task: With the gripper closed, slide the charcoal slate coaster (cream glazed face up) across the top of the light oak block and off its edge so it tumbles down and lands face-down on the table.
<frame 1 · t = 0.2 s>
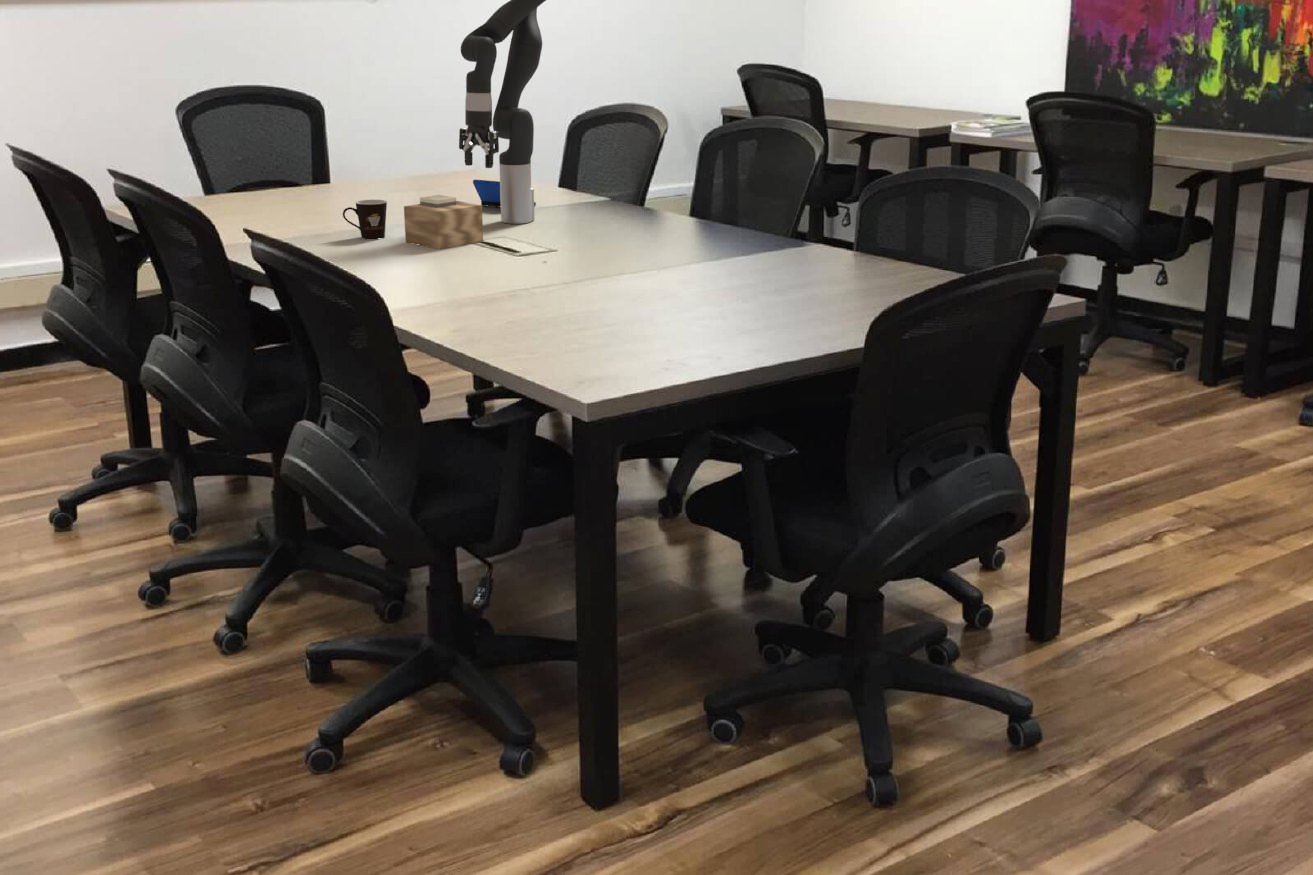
hand: (478, 166, 427), 18 cm above the table, tool pointing down, fingers open, 8 cm apart
coaster: (438, 204, 409), point 10 cm above the table, touching oak block
coffee mug: (368, 238, 417), on the table
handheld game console: (505, 208, 469), on the table
oak block: (444, 241, 411), on the table
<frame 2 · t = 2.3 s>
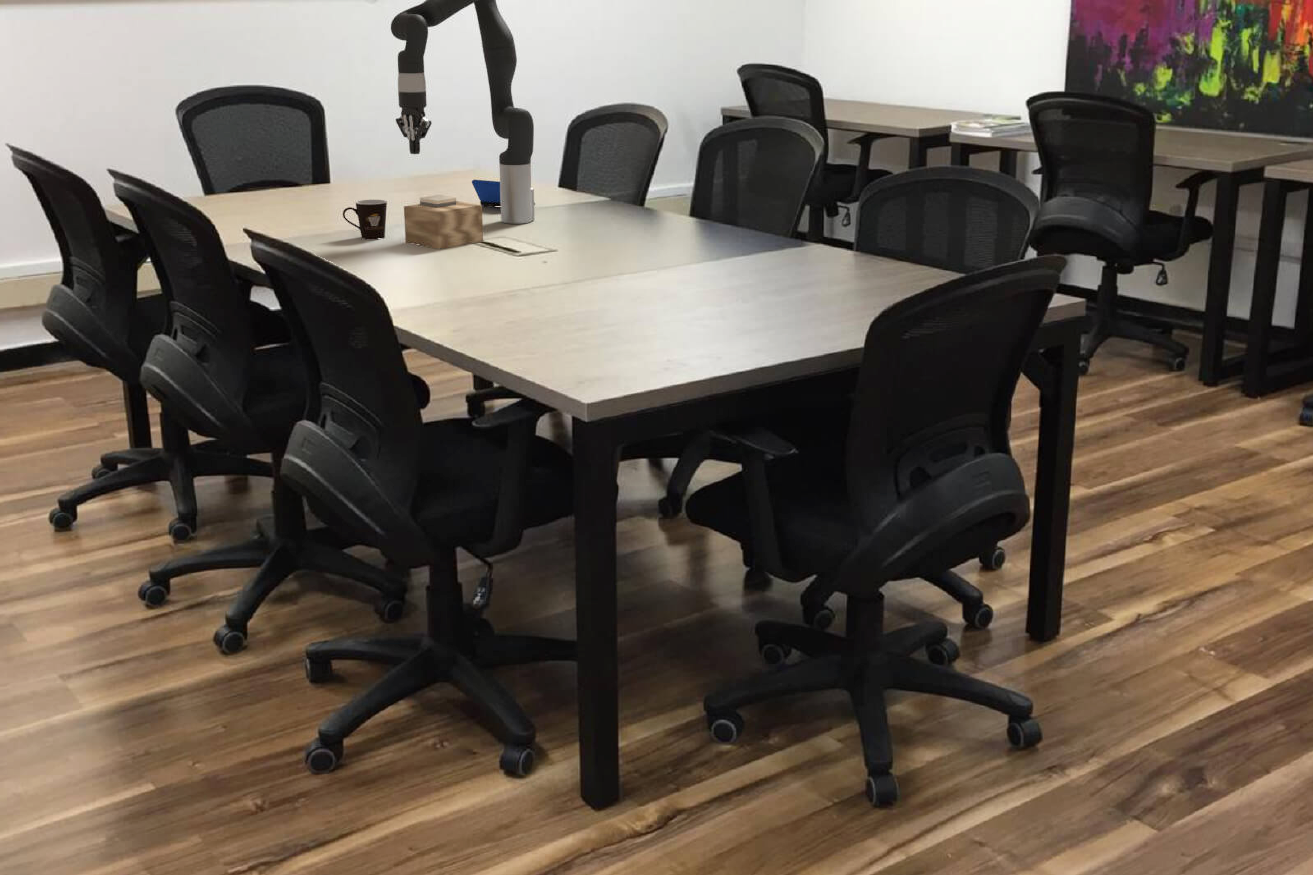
hand: (414, 153, 411), 23 cm above the table, tool pointing down, fingers closed
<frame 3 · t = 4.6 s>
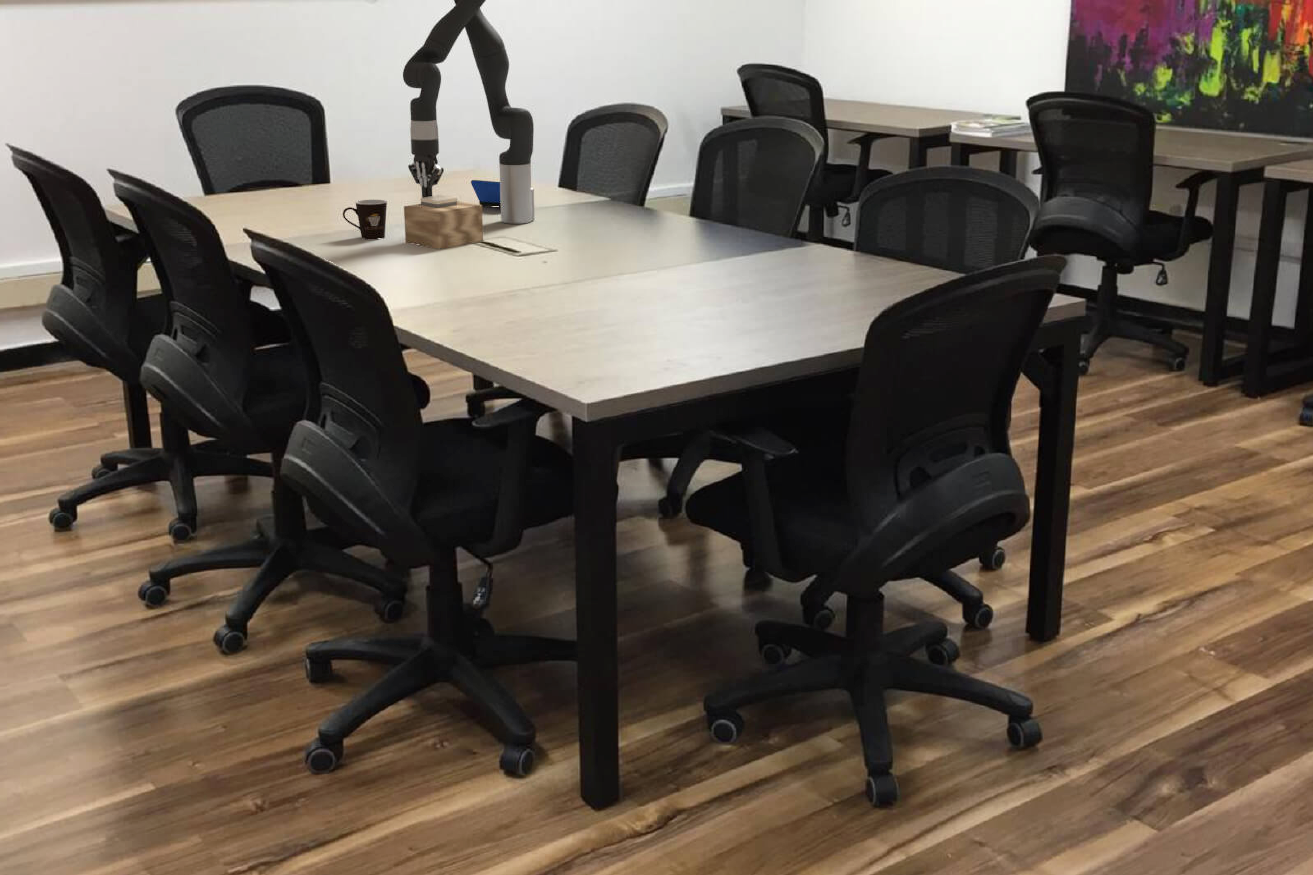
hand: (427, 200, 412), 11 cm above the table, tool pointing down, fingers closed
coaster: (439, 205, 409), point 10 cm above the table, touching gripper
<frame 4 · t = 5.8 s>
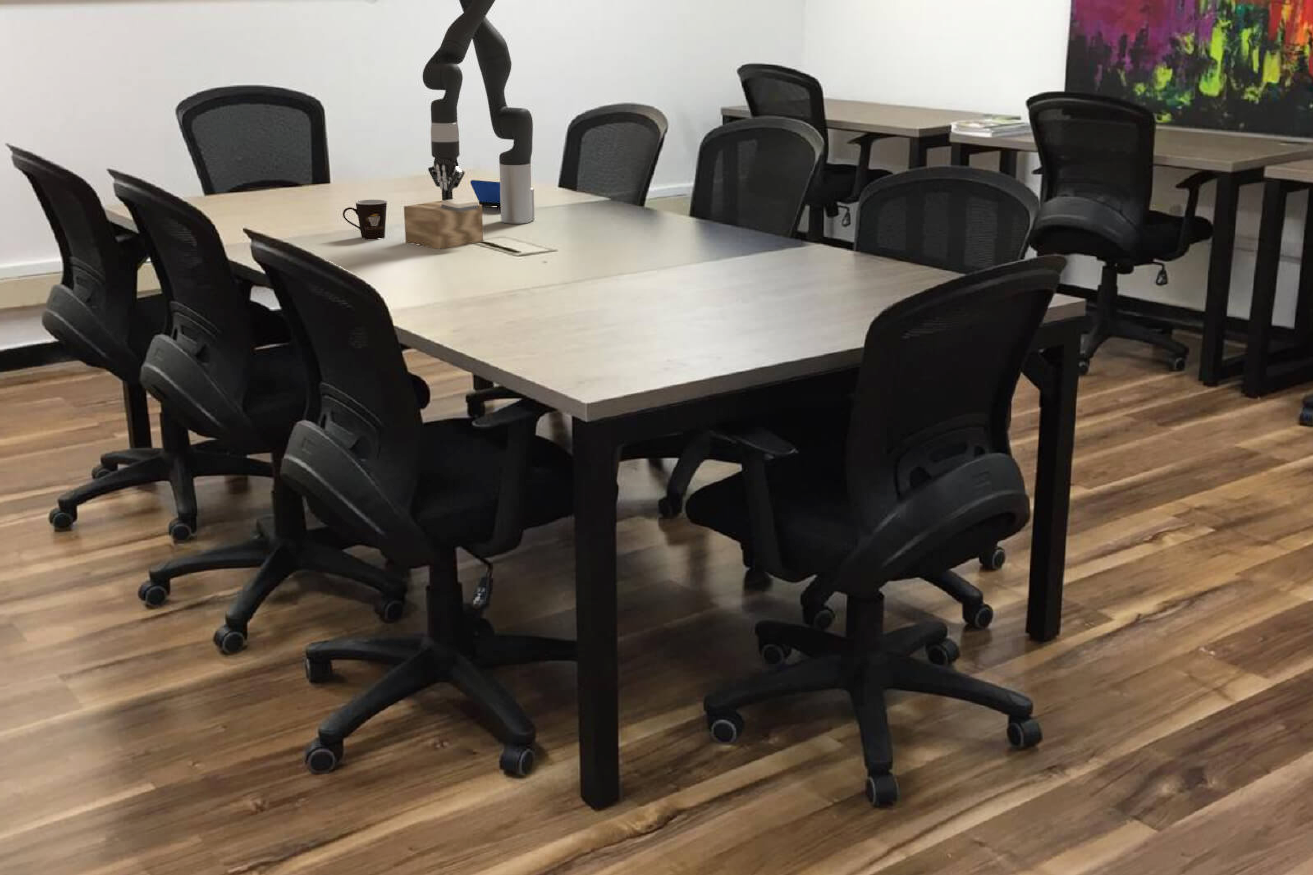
hand: (447, 203, 406), 11 cm above the table, tool pointing down, fingers closed
coaster: (459, 208, 404), point 10 cm above the table
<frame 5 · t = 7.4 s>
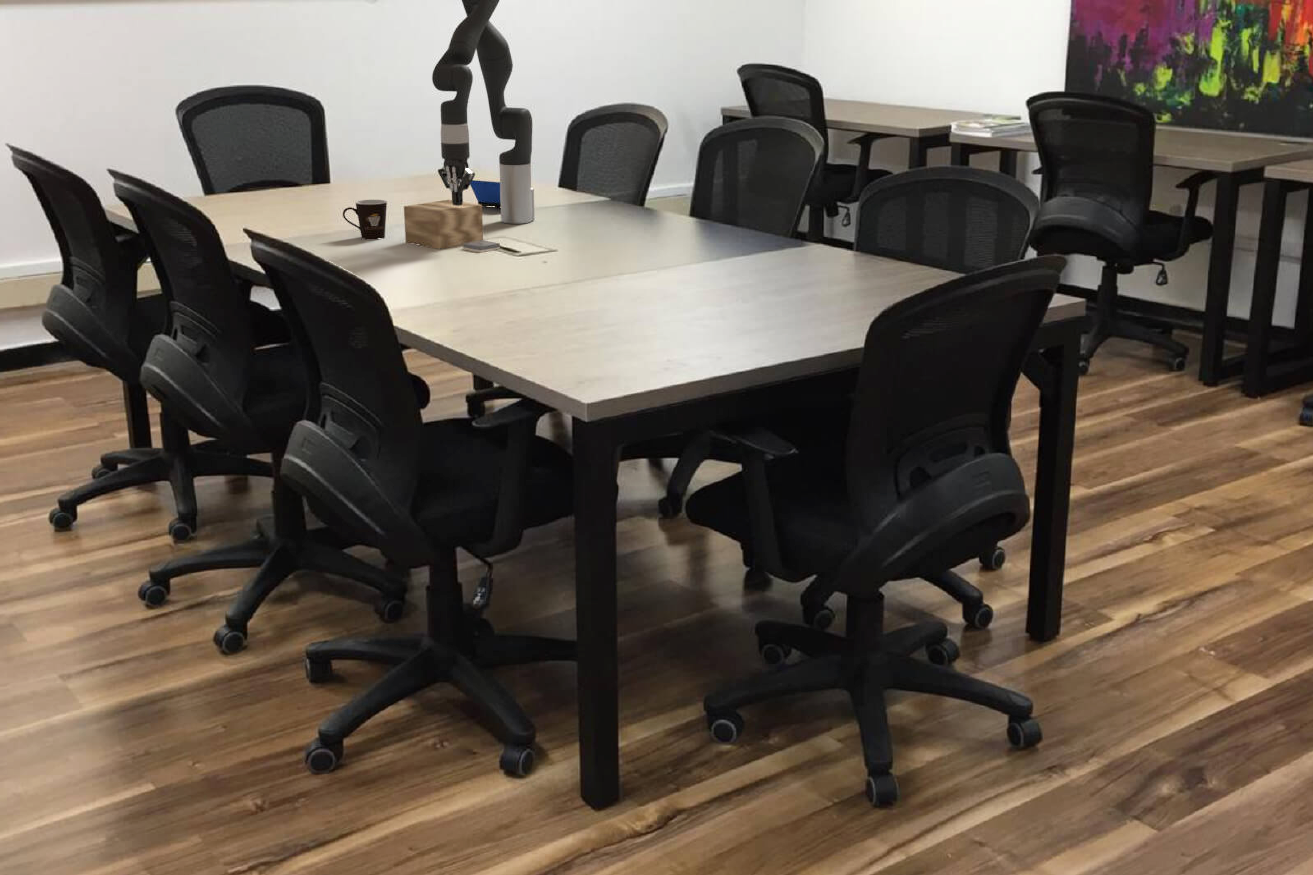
hand: (457, 205, 404), 11 cm above the table, tool pointing down, fingers closed
coaster: (481, 243, 401), point 1 cm above the table, tilted 180°
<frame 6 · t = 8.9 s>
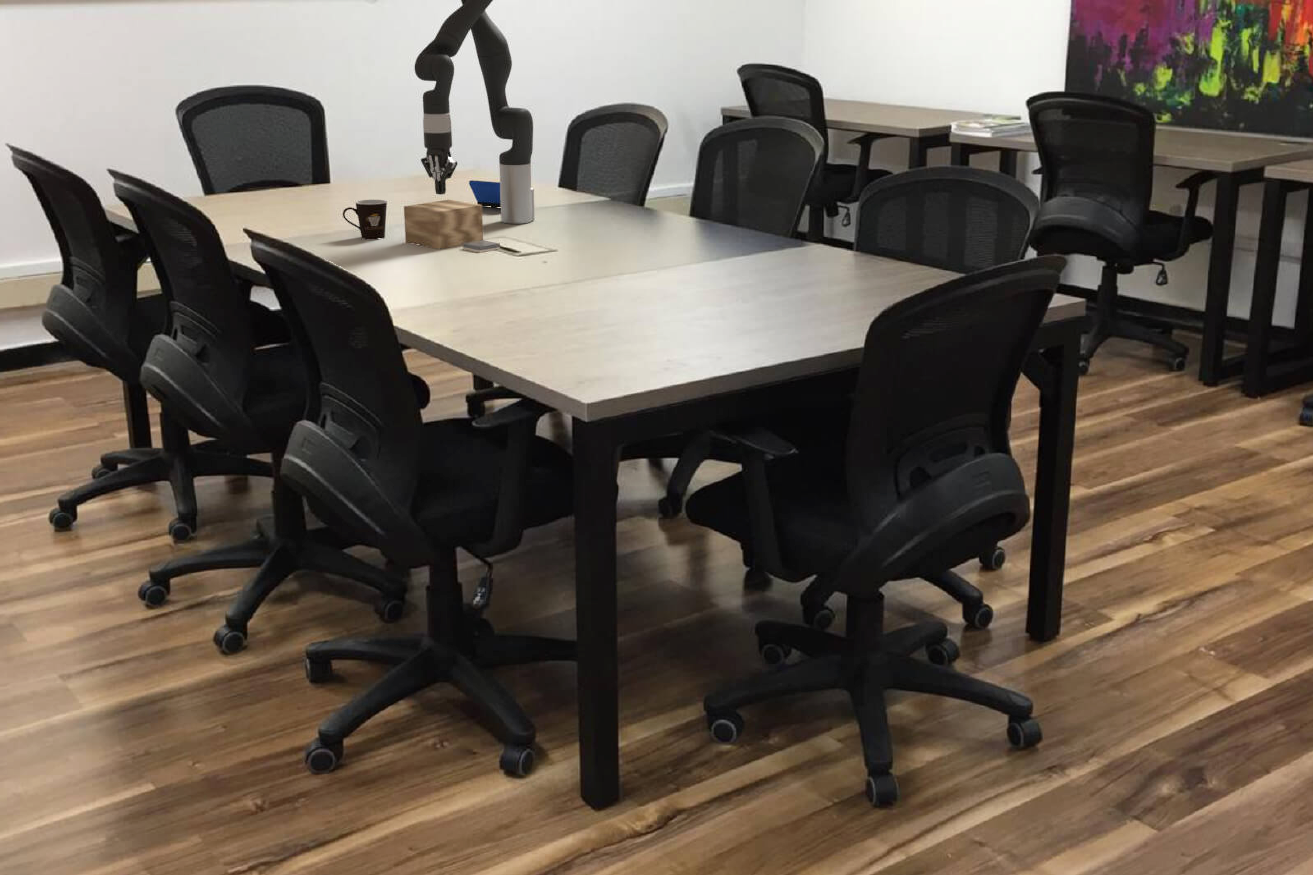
hand: (440, 193, 408), 13 cm above the table, tool pointing down, fingers closed
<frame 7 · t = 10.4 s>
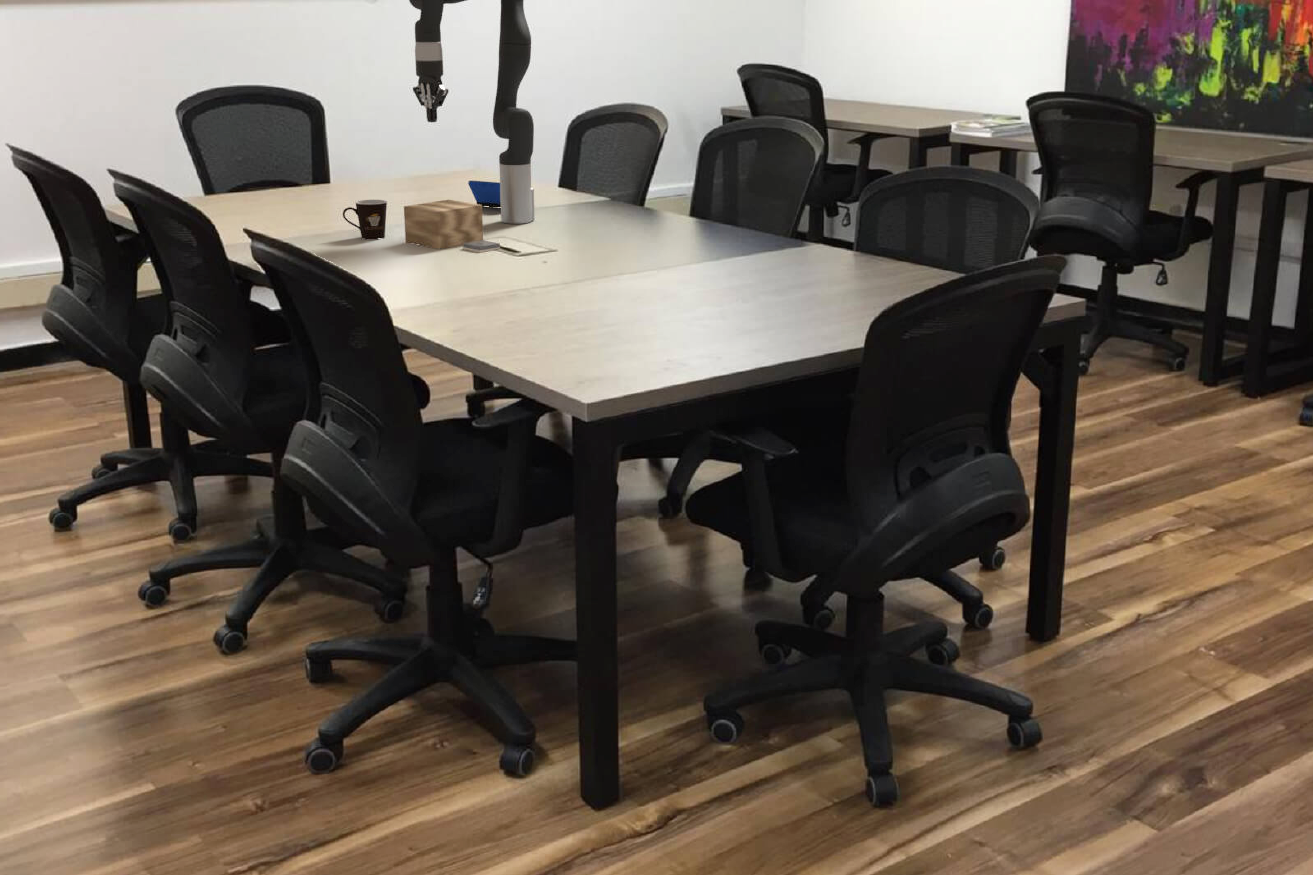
hand: (432, 121, 418), 31 cm above the table, tool pointing down, fingers closed
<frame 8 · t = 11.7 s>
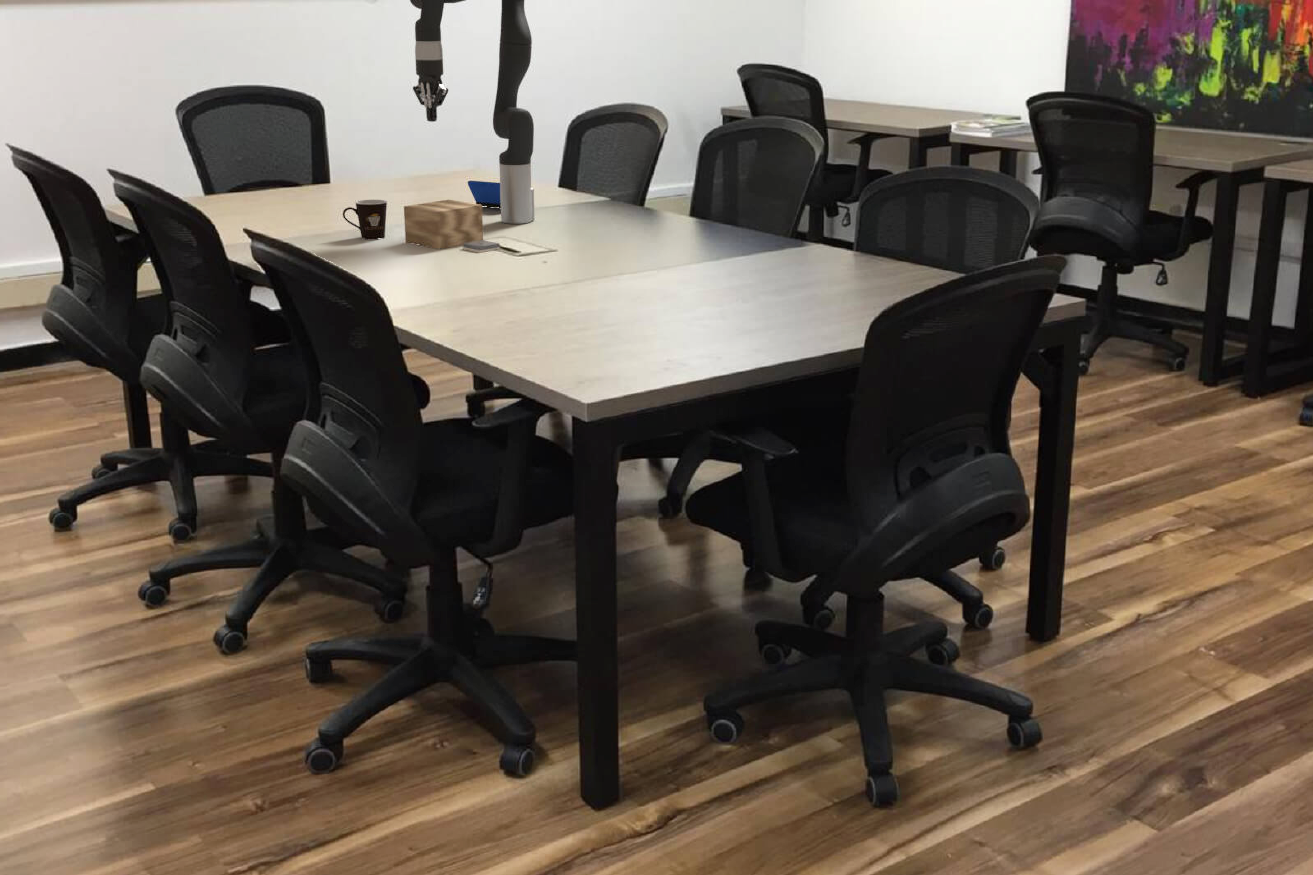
hand: (431, 121, 418), 31 cm above the table, tool pointing down, fingers closed
at the end: coaster tilted 180°; coaster inside the target area (3.7 cm from its centre), point 1.5 cm above the table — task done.
